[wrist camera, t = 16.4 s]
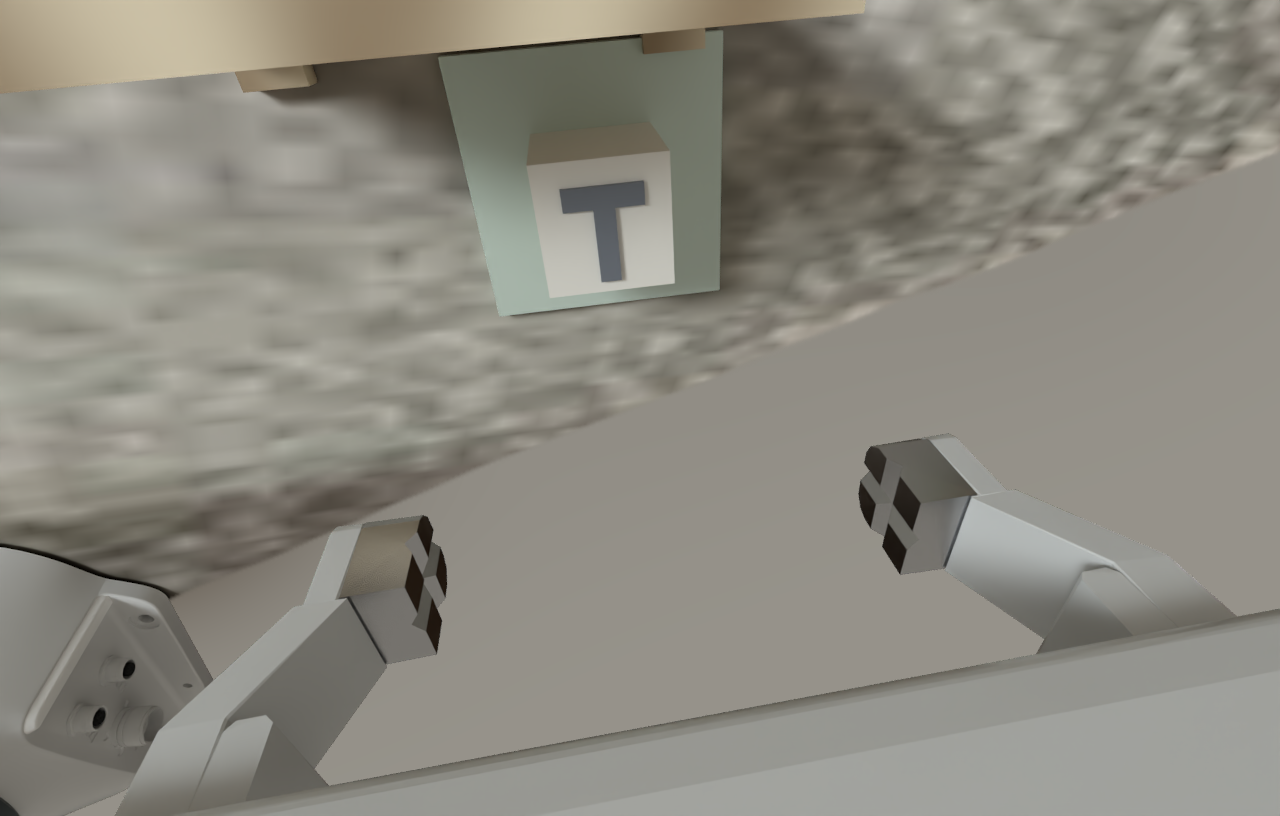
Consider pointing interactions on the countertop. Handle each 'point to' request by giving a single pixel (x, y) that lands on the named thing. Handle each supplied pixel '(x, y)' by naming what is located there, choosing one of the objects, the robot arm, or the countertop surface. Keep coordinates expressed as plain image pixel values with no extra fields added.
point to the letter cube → (602, 208)
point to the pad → (577, 99)
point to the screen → (331, 33)
